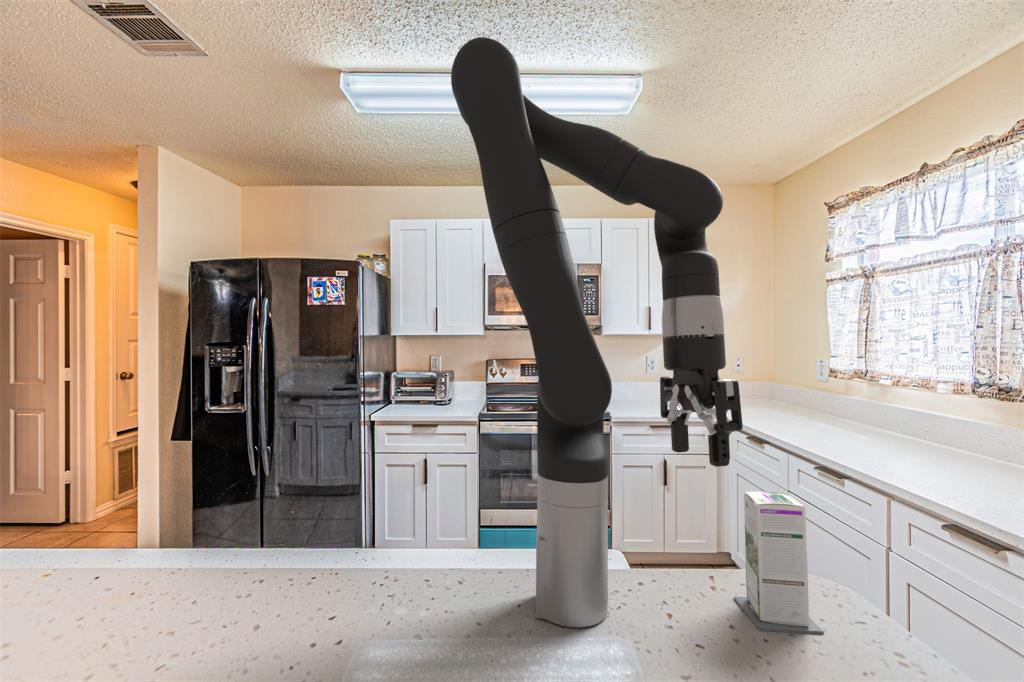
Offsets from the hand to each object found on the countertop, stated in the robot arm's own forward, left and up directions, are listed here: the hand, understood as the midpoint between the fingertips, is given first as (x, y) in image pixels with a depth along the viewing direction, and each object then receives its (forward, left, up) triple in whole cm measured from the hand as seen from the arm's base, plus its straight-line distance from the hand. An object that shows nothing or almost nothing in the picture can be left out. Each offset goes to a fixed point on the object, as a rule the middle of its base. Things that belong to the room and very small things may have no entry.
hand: (698, 458), depth 58 cm
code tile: (+10, +1, -20) cm, 22 cm away
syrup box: (+10, +1, -20) cm, 22 cm away
